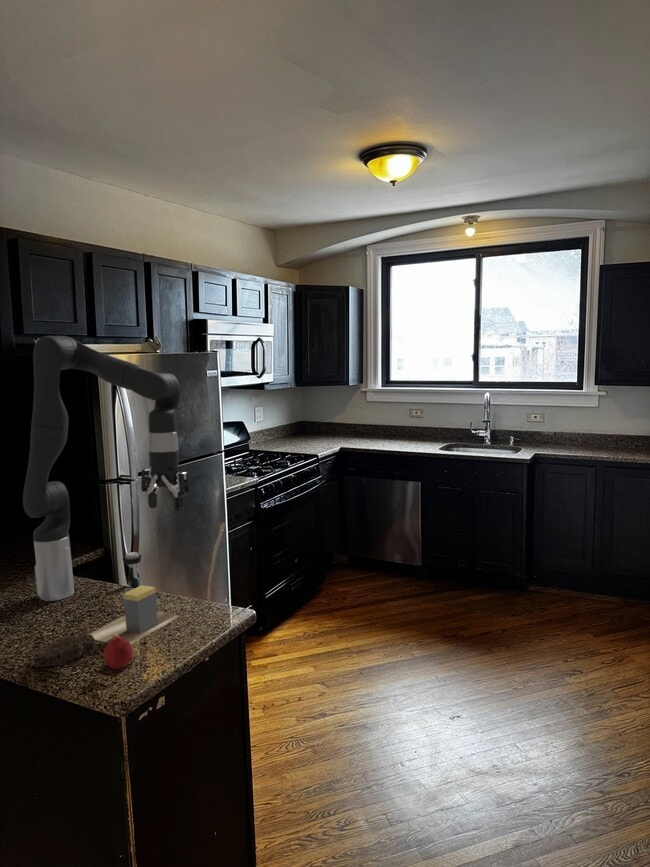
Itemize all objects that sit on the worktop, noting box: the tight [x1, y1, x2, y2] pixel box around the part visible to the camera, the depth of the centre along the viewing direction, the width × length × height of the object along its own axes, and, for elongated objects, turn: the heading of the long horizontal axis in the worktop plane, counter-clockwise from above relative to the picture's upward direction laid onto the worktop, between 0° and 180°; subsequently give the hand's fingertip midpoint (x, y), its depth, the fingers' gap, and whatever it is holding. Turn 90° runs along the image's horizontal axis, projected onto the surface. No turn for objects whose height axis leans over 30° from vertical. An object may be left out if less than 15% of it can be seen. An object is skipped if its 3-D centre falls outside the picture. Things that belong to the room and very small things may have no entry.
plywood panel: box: [88, 611, 181, 645], centre depth 144 cm, size 14×18×1 cm
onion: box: [102, 634, 133, 670], centre depth 124 cm, size 6×6×8 cm
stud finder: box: [122, 584, 158, 633], centre depth 142 cm, size 4×6×9 cm
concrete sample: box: [32, 632, 96, 668], centre depth 131 cm, size 12×10×5 cm
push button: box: [122, 551, 142, 589], centre depth 176 cm, size 7×5×10 cm
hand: (165, 509), depth 157 cm, fingers open, 8 cm apart
